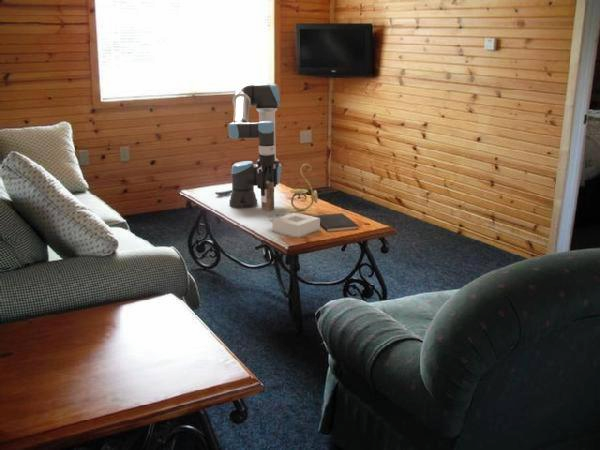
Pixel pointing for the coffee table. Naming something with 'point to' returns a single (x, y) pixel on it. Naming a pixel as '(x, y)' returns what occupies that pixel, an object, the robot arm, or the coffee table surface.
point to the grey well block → (296, 225)
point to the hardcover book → (336, 222)
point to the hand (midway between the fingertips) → (267, 200)
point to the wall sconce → (304, 191)
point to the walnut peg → (269, 197)
